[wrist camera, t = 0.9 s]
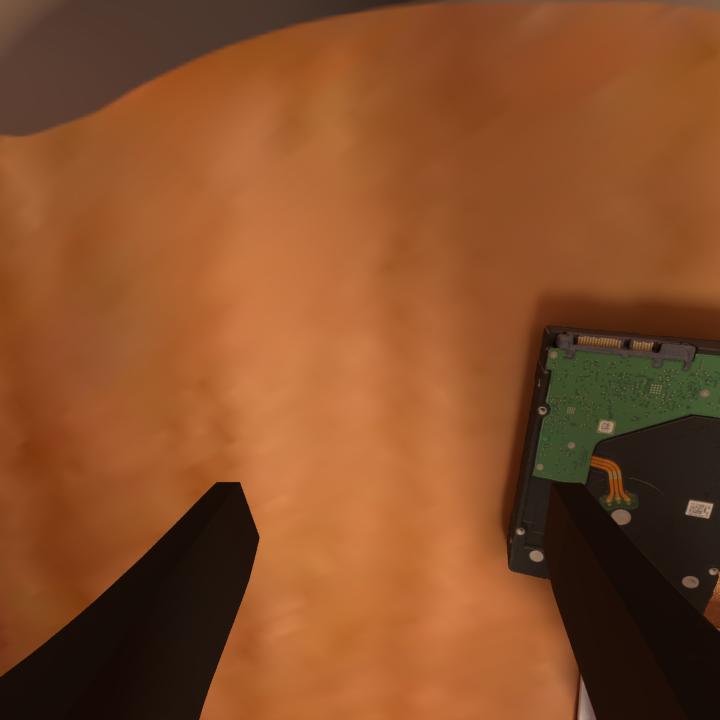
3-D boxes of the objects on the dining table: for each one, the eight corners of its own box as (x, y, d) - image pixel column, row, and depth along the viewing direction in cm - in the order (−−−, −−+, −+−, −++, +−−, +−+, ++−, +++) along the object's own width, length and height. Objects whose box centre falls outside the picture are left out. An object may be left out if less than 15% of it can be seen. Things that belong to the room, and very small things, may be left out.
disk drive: (686, 578, 25) (764, 339, 20) (709, 618, 22) (804, 354, 18) (504, 542, 28) (538, 322, 23) (507, 574, 25) (545, 334, 21)
